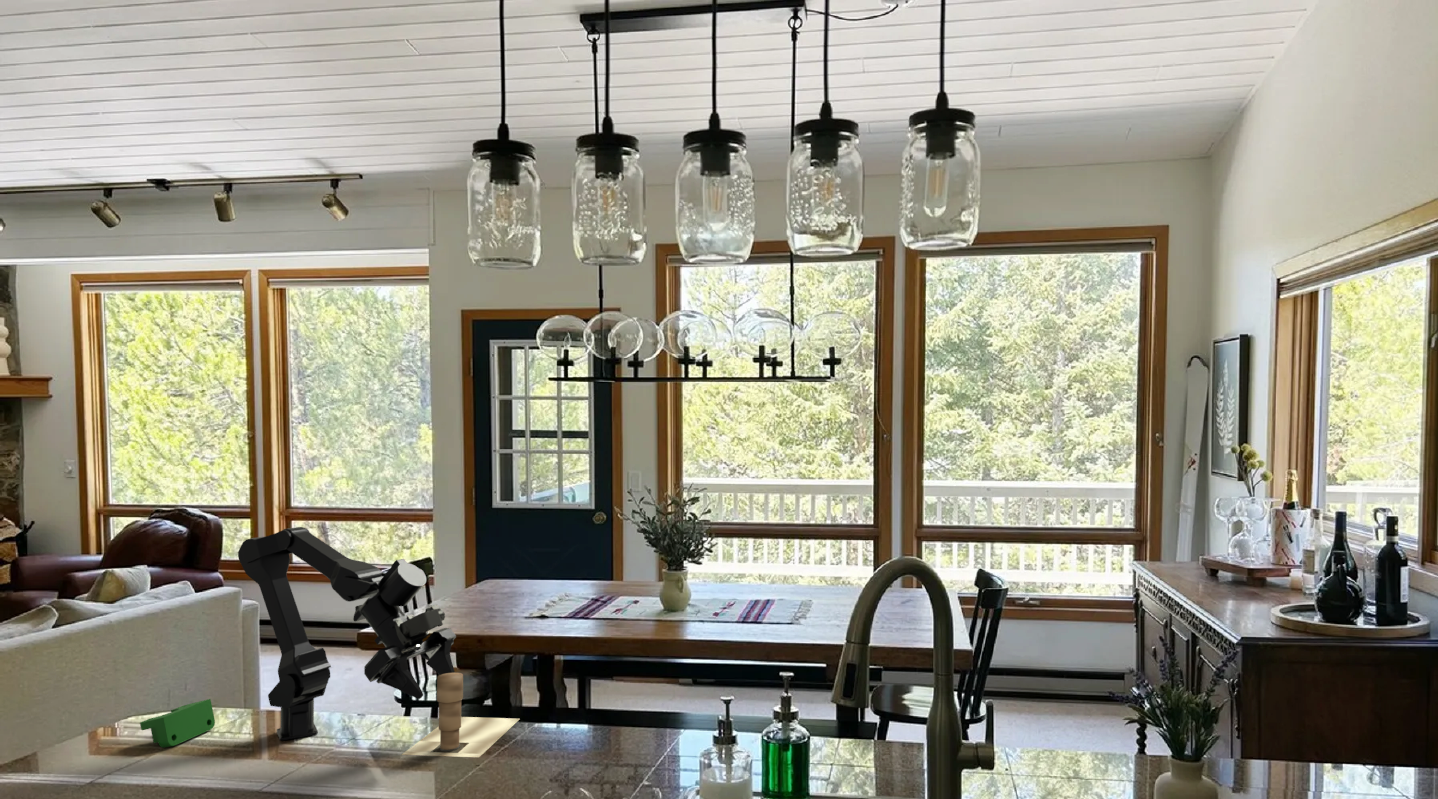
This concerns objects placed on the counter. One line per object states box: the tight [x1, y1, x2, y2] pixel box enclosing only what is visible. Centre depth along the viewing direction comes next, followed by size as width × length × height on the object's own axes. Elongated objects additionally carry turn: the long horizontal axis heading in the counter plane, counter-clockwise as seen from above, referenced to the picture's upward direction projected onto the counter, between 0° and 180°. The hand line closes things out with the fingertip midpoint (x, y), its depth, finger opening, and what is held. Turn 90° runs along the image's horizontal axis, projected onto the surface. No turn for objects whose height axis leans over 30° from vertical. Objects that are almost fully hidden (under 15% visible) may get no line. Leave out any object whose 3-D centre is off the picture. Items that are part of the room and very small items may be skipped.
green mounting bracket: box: [139, 698, 216, 749], centre depth 160 cm, size 12×6×9 cm
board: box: [401, 716, 521, 767], centre depth 156 cm, size 14×20×2 cm
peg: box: [436, 672, 464, 752], centre depth 150 cm, size 4×4×14 cm
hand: (438, 689), depth 151 cm, fingers open, 9 cm apart
